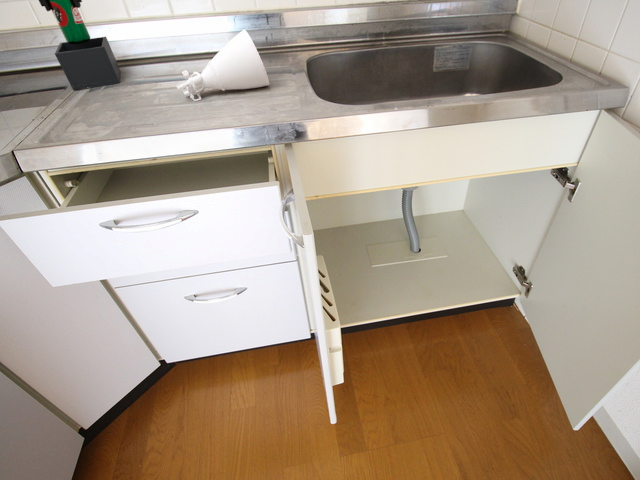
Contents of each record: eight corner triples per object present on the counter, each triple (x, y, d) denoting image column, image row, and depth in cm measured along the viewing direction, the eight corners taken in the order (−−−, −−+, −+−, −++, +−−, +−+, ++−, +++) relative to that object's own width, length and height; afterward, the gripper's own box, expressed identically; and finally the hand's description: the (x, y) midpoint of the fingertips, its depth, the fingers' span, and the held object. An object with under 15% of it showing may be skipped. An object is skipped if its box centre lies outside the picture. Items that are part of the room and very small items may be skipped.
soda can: (90, 42, 90) (62, -22, 82) (66, 45, 89) (35, -19, 80) (92, 37, 93) (65, -25, 85) (69, 40, 92) (39, -22, 84)
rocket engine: (157, 53, 77) (241, 17, 79) (174, 77, 88) (247, 46, 91) (186, 107, 78) (267, 71, 80) (199, 125, 90) (270, 93, 92)
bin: (73, 90, 92) (54, 53, 87) (77, 77, 99) (60, 42, 94) (119, 83, 95) (104, 46, 89) (120, 71, 102) (106, 36, 96)
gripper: (-47, -103, 69) (17, 16, 82) (60, -107, 74) (105, 6, 86) (-35, -102, 74) (23, 10, 87) (64, -106, 79) (106, 1, 91)
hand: (63, 7), depth 86 cm, fingers closed on soda can, 5 cm apart
